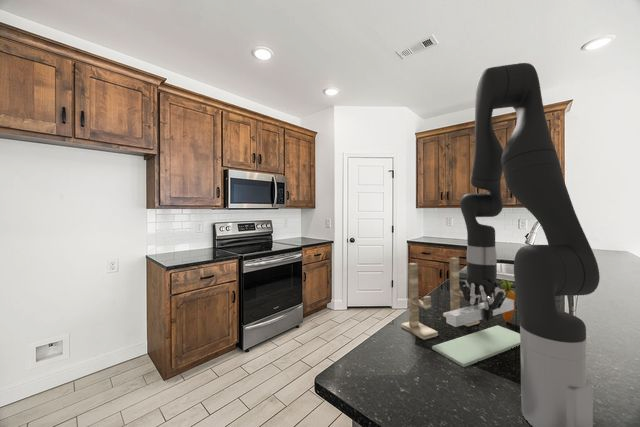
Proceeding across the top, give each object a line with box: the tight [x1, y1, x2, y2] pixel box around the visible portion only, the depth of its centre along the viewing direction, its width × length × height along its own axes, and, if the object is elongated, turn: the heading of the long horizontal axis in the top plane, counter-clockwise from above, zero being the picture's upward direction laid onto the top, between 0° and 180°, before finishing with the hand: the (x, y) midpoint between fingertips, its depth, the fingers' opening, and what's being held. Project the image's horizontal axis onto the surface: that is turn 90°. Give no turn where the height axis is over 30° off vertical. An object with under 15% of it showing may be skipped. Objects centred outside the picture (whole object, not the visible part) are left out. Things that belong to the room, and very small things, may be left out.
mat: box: [431, 324, 520, 368], centre depth 78 cm, size 10×30×1 cm, turn 114°
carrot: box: [500, 278, 516, 323], centre depth 92 cm, size 5×5×15 cm
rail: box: [445, 298, 515, 328], centre depth 78 cm, size 3×26×3 cm, turn 115°
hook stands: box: [400, 257, 480, 341], centre depth 91 cm, size 10×26×22 cm, turn 114°
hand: (481, 318), depth 78 cm, fingers closed on rail, 3 cm apart
